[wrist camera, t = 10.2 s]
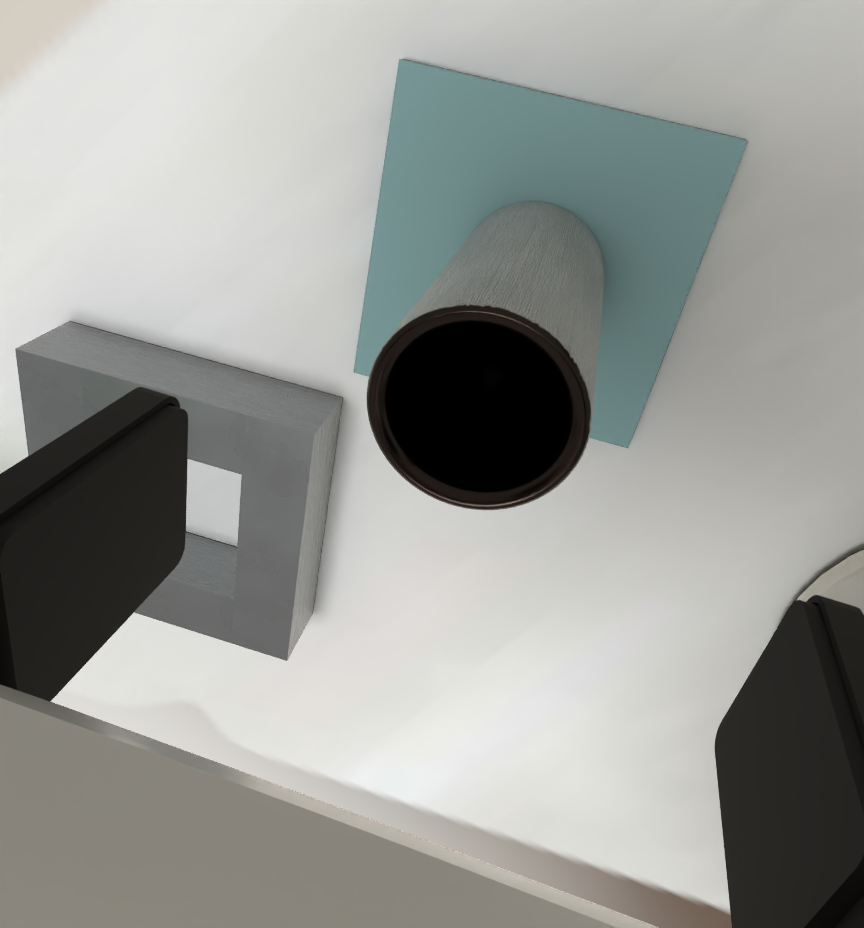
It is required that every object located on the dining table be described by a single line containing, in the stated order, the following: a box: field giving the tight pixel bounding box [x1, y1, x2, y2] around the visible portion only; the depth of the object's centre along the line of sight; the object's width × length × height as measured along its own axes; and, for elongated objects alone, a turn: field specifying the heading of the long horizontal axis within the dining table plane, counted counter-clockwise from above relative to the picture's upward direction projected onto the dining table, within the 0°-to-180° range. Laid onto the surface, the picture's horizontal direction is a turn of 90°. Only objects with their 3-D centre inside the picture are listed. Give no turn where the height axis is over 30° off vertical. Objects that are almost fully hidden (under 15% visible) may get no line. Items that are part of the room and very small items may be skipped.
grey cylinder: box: [367, 201, 604, 510], centre depth 19 cm, size 4×4×10 cm
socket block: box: [15, 321, 343, 661], centre depth 30 cm, size 11×11×3 cm
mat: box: [354, 59, 748, 448], centre depth 23 cm, size 10×10×1 cm
